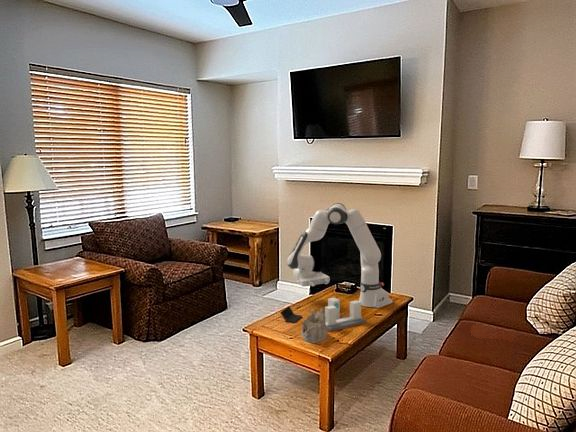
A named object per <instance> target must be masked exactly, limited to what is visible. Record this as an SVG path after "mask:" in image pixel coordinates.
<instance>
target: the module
mask: <svg viewBox="0 0 576 432" xmlns="http://www.w3.org/2000/svg"><path fill="white" fill-rule="evenodd" d="M340 302H341V301H340V299H338V298H337V297H330V298H328V299H327V306H331V305H333V306H335V307H336V319H338V318H341V317H340V311H341V310H340V309H341V308H340V307H341V303H340Z"/></svg>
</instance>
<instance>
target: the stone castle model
mask: <svg viewBox="0 0 576 432" xmlns="http://www.w3.org/2000/svg"><path fill="white" fill-rule="evenodd" d="M325 319H326V317H325V313H324V309H323V307H321V308H320V309H319V310H318V311H316V313H315V309H314V308H312V309H311V311H310V314H309V315H308V316H307V317H306V318H305V320H304V321H303V322H302V326H301V327H302V329H301V332H300V335H301V337H302V340H303V341H305V342H307V343H308V342H309V343H311V344H317V343H320V342H322V341H324V340H326V338H328V330H327V329H326V325H325V323H326V322H325Z"/></svg>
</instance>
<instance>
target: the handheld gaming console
mask: <svg viewBox="0 0 576 432" xmlns="http://www.w3.org/2000/svg"><path fill="white" fill-rule="evenodd" d="M280 314H281V317H283V319H284V321H285V323H289V324H290V323H291V324H296V323H298V321H300V320H301V319H302V318H303V315H300V314H296V313H294V312H293V310H292V308H291V307H290V306H287V307H286V308H284V309H283V310H281V312H280Z"/></svg>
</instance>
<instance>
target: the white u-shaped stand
mask: <svg viewBox="0 0 576 432" xmlns="http://www.w3.org/2000/svg"><path fill="white" fill-rule="evenodd" d="M324 315H325V317H326V319H325V322H326V323H325V325H326V331H327V332H332V331H338V330H340V329H345V328H350V327H353V326H357V325H358V326H359V325H361V324H366V323H367V319H365V318H363V316H362V305H361V302H360V301H359V299H358V300H357V299H356V300H351V301H349V315H347V316H343V317H340V318H337V319H336V307H335V306H333V305H331V306H328V305H327V306H324Z"/></svg>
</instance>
